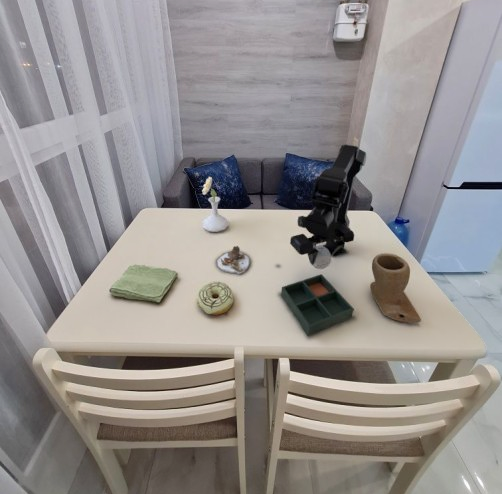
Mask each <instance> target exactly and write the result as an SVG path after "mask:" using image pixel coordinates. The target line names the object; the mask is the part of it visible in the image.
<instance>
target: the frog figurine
mask: <svg viewBox="0 0 502 494" xmlns="http://www.w3.org/2000/svg"><path fill="white" fill-rule="evenodd" d="M240 249H241V247H239V246H238V245H236V246H233V247H232V249H231V250H230V251H228V252H227V253H224V254H223V255H222V256H220V257H219V258H218V259H217V262H216V264H217V267H218V268H219V269H220V270H221V271H223V272H224V273H225V272H226V273H230V274H233V273H235V274H237V275H241V274H243V273H245V272H246V271H247V270H248V268H249V267H250V258H249V256H247V255H246V254H244V253H242V252H240Z"/></svg>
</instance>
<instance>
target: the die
mask: <svg viewBox="0 0 502 494" xmlns="http://www.w3.org/2000/svg"><path fill="white" fill-rule="evenodd" d="M316 249H317V250H318V251H319V252H318V254H317V257H316V259H315V262H314V263H313V264H311V263H310V262H309V264H310V265H311V267H313V268H315V269H318V270H324V269H326V268H328V267H329V266H330V264H331V263H332V256H331V254H330V252H329V250H328V249H327V248H325V247H323V245H316Z"/></svg>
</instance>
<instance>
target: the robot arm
mask: <svg viewBox="0 0 502 494" xmlns="http://www.w3.org/2000/svg"><path fill="white" fill-rule="evenodd" d="M336 156H337V157H336V158H335V160H334V161H333V163H332V165H331V167H328V168H325V169H323V170H322V172H321V173H320V174H319V175H318V176H317V177H316V179H315V182H314V185H313V188H312V192H311V195H310V198H309V202H312V203H314V207H313V208H312V209H311V211H310V212H309V213H308V215H307V216H305V215H299V216H298V217H297V226H298V227H299V228H301V229H306V231H307V232H308V233H309V234H311V236H310V237H307V236H306V234H304V233H300V234H296V235H293V236H291V237H290V241H289V244H290V246H291V247H292V248H293V250H295V252H297V253H298V254H299V255H301V256H303V255H304V256H305V255H307V258H308V262H309V264H310V263H311V264H313V263H314V262H315V259H316V257H317V254H318V252H319V251H318V250H317V249H316V246H317V245H318V244H322V243H325V244H323V245H322V246H323V247H325V248H327V249H328V250H329V252H330V254H331V257H336V256H339V255H342V254H346V253H347V250H346V249H345V245H346V243H350V242H354V241H355V233H354V231H353V230H352V229H351V227H350V224H351V221H350V219H349V217H348V212H349V207H350V202H351V198H352V193H353V188H354V183H355V180H356V176H357V175H358V174H359V173H360V172H361V171H362V169H363V166H365V164H366V161H367V158H368V157H367V152H366V151H364V150H362V149H361V148H360V147H359V146H357V145H353V144H352V145H351V144H342V145H341V147H339V150H338V152H337V155H336ZM317 194H319V195H317ZM311 264H310V265H311Z"/></svg>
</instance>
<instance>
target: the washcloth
mask: <svg viewBox="0 0 502 494" xmlns="http://www.w3.org/2000/svg"><path fill="white" fill-rule="evenodd" d="M178 274H179V273H178V272H177V271H176V270H173V269H170V268H167V267H165V268H164V267H157V266H156V267H155V266H148V265H144V264H131V265H129V266H128V267H127V269H126V270H125V271H124V272H123V274H122V276H121V277H120V278H119V279H118V280H116V281H115V282H114V283H113V284H112V285H111V286H110V288H109V290H108V291H109V294H111V295H112V296H114V297H121V298H125V299H127V300H128V299H129V300H136V301H137V300H139V301H149V302H156V303H161V300H162V299H163V297H164V296H165V295H166V293H167V292H168V291H169V289H170V288H171V286H172V284H173V282H174V281H175V279H176V277H178Z"/></svg>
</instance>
